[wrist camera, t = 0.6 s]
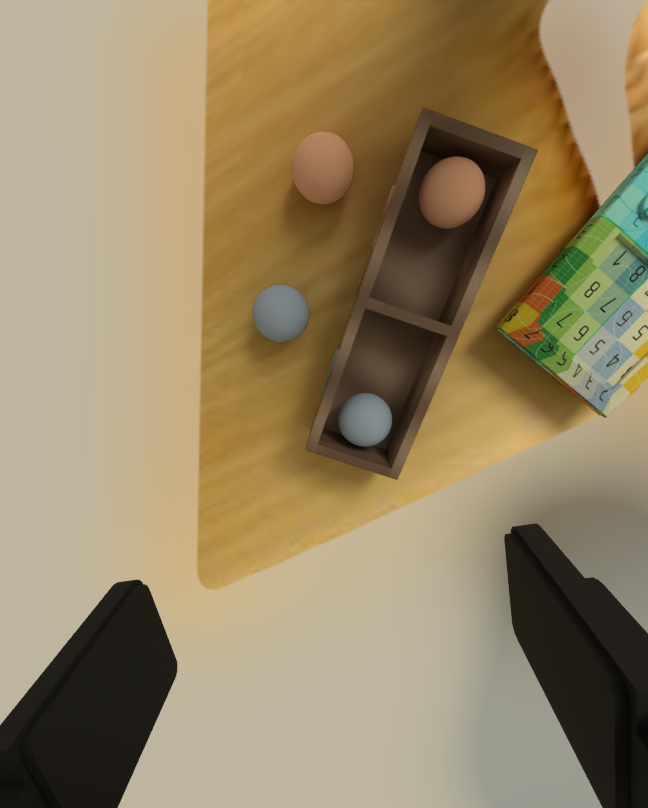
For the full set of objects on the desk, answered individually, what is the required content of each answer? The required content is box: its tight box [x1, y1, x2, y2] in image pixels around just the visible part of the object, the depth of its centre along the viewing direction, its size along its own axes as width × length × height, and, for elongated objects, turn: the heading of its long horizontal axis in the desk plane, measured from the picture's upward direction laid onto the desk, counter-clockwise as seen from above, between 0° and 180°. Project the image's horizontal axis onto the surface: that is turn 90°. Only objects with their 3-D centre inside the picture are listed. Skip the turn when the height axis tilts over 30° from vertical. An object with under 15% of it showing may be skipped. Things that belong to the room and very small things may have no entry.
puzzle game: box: [495, 154, 648, 418], centre depth 29 cm, size 12×5×20 cm
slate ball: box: [253, 284, 309, 342], centre depth 31 cm, size 5×5×5 cm
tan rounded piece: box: [419, 156, 485, 229], centre depth 28 cm, size 5×5×5 cm
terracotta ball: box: [292, 131, 354, 204], centre depth 28 cm, size 5×5×5 cm
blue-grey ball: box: [338, 393, 392, 447], centre depth 33 cm, size 5×5×5 cm
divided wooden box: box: [306, 108, 538, 480], centre depth 31 cm, size 25×8×5 cm, turn 162°
